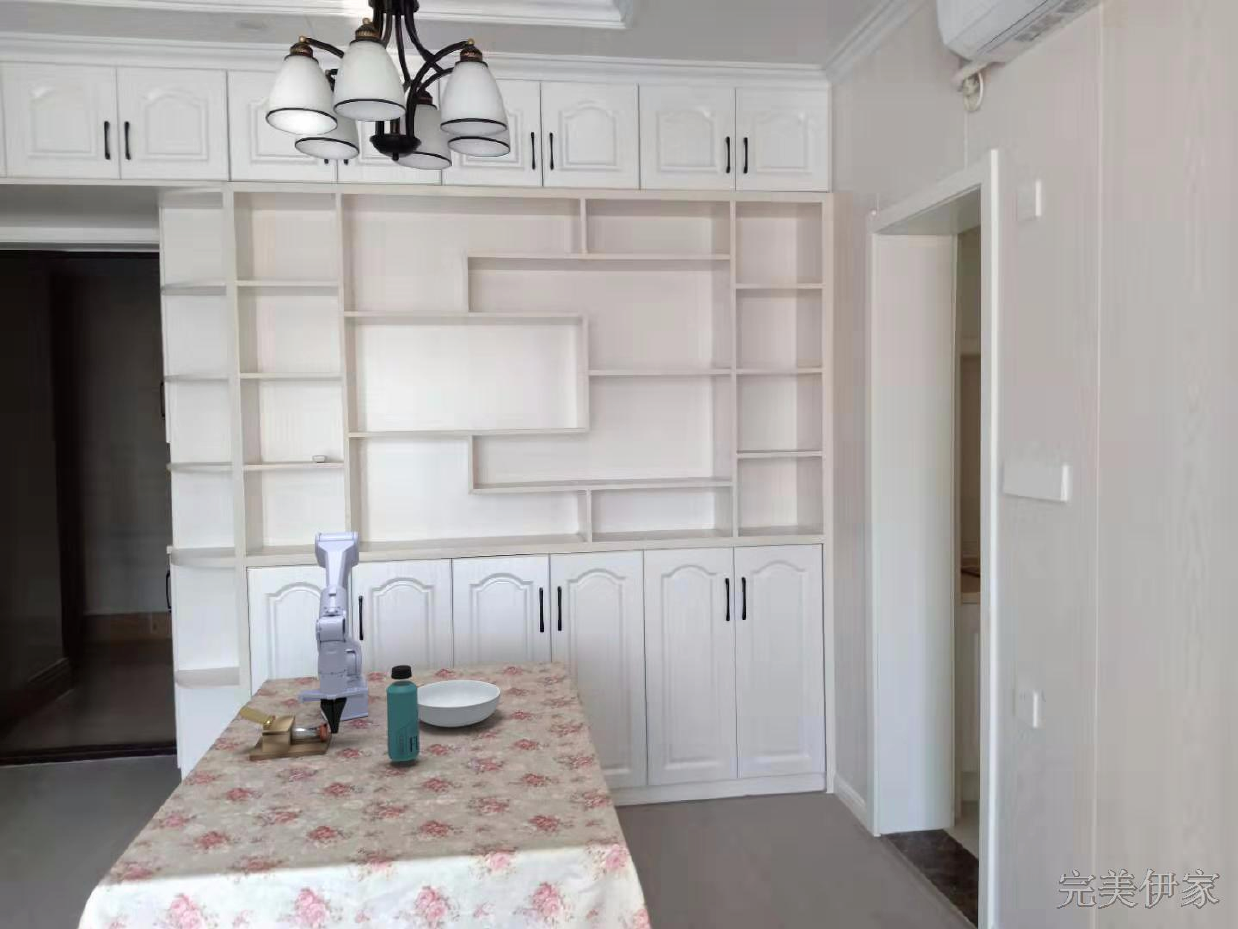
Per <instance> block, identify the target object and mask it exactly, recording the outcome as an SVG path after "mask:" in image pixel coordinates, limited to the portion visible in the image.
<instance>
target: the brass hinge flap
mask: <svg viewBox="0 0 1238 929" xmlns="http://www.w3.org/2000/svg"><path fill="white" fill-rule="evenodd" d="M237 712H238V713H237V714H236V716H239V717H242V718H244V719H246V720H248V721H252V722H253V723H257V724H258V725H261V726H263V724H270V725H271V723H272V721H273V719H274V717H273V716H269V715H270V714H266V713H264V712H262V711H259V710H257V709H255V708H251V707H250V706H249V707H248V706H246V705H242V706H241V708H240V709H239V711H237Z"/></svg>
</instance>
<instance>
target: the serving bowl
mask: <svg viewBox="0 0 1238 929" xmlns="http://www.w3.org/2000/svg"><path fill="white" fill-rule="evenodd" d="M417 696H418V703H419V704H418V709H419V710H418V711H419V712H418V719H419V720H421V721H423V722H424V723H427V724H429V725H433V726H436V727H445V728H461V727H460V726H462V727H465V725H466V726H470V725H473V724H474V725H475V724H476V723H479V722H482V721H483V720H485V719H488V718H489V717H491V715H492V714H493V713H494V712H495V710H497V709H496V708H497V707H498V706H499V702H500V699H501V698H500V697H501V689H500V688H499V687H498V686H497V685H495V684H493V683H490V682H486V681H481V680H472V679H453V680H452V679H451V680H442V681H438V682H437V681H435V682H432V683H429V684H424V685H422V686H419V687H418V689H417Z"/></svg>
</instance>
